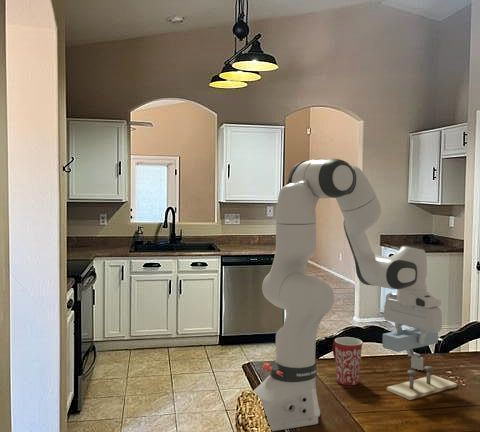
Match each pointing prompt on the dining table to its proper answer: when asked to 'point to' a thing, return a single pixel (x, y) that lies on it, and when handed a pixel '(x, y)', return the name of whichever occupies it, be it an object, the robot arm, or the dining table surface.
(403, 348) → the two-hole block
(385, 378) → the dining table surface
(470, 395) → the dining table surface
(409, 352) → the lighter
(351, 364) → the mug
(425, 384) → the boss board
